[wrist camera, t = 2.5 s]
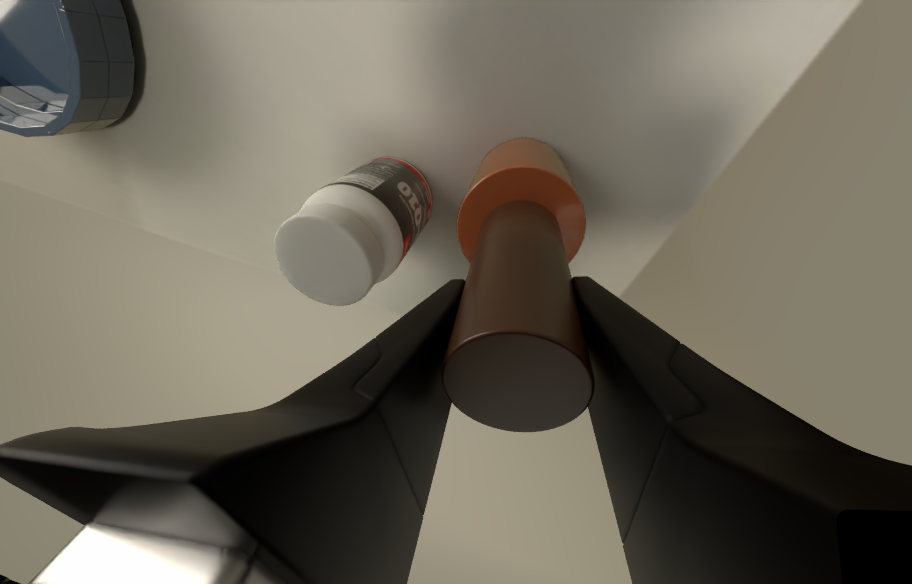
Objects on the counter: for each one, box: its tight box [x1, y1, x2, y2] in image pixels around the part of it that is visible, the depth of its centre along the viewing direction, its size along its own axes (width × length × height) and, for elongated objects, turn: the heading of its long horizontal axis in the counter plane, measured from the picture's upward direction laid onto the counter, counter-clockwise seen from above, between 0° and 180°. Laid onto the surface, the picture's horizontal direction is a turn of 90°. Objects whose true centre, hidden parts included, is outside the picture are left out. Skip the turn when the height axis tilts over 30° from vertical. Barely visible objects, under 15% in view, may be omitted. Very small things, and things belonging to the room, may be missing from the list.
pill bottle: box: [274, 157, 432, 306], centre depth 16 cm, size 5×5×8 cm
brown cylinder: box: [441, 200, 595, 432], centre depth 9 cm, size 3×3×7 cm
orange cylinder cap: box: [457, 138, 586, 264], centre depth 15 cm, size 5×5×6 cm
